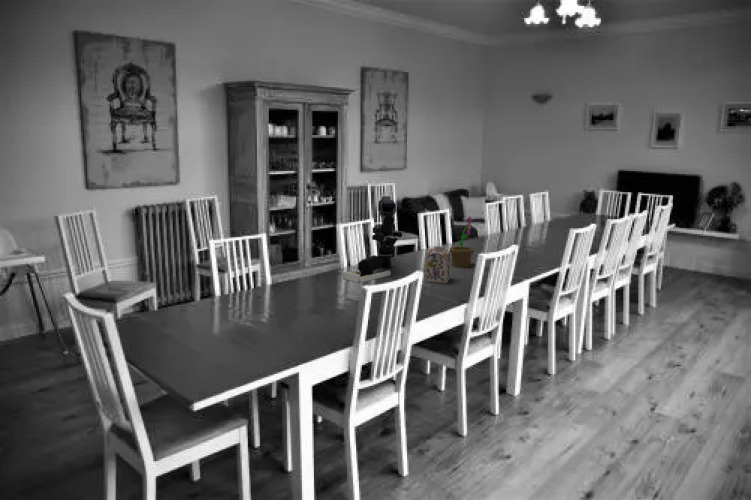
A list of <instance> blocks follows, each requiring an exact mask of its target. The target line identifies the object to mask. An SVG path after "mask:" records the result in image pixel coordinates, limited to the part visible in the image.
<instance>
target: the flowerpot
mask: <svg viewBox="0 0 751 500" xmlns="http://www.w3.org/2000/svg"><path fill="white" fill-rule="evenodd" d="M472 220H473V219H472V216H470V215H468V219H467V223H466V226H465V228H464V230H463V231H462V233H461V238H460V241H459V242H458V245H455V246H454V245H453V246H450V247H449V251H450V253H451V265H452V267H454V268H460V269H461V268H462V269H463V268H464V269H465V268H470V265H471V261H472V260H471V259H472V254H474V251H475V250H474V248H473V247H470V246H464V245H463V243H464V242H463V241H464V240H467V238H469V237H470V236H471V230H472V228H473V226H472ZM465 232H466V233H465Z"/></svg>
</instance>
